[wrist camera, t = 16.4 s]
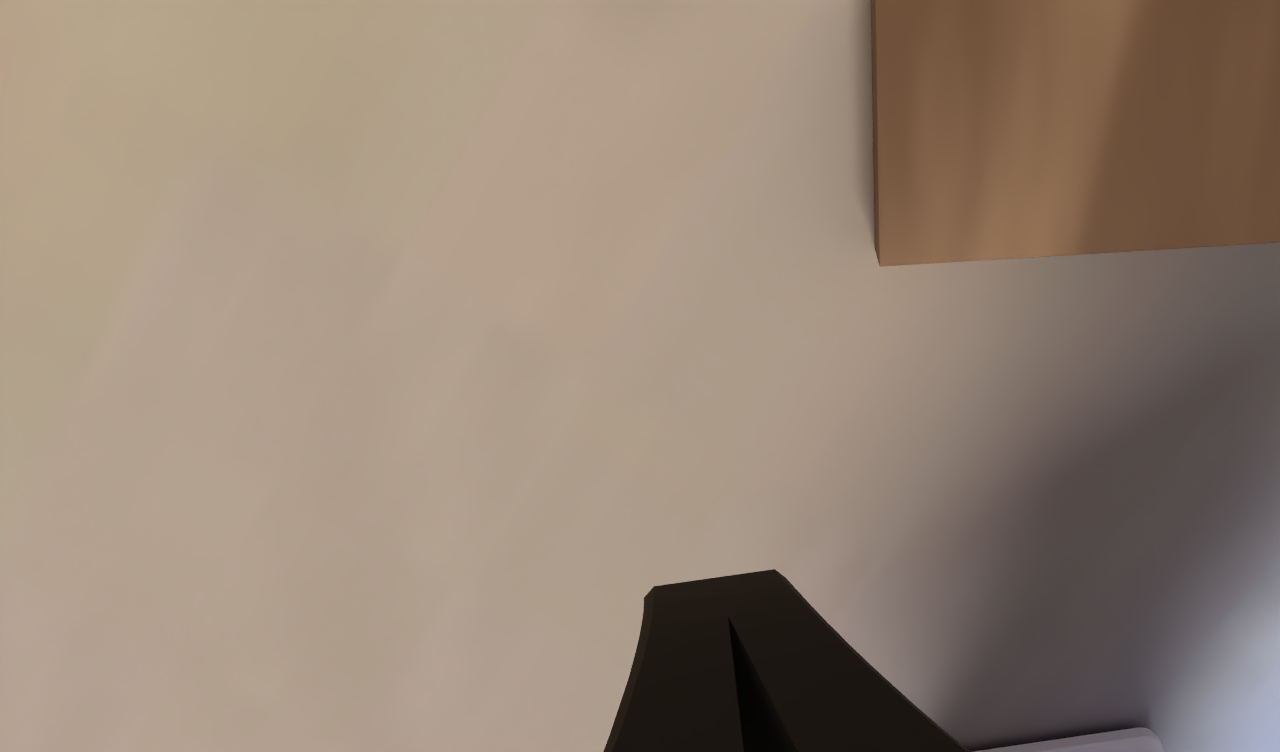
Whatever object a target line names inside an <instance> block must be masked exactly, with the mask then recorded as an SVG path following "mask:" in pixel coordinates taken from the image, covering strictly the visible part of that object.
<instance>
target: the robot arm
mask: <svg viewBox="0 0 1280 752" xmlns="http://www.w3.org/2000/svg"><path fill="white" fill-rule="evenodd" d="M1162 749H1163V748H1162V742H1161V741H1160V740H1159V739H1158V738H1157V736H1156V735H1155V734H1154V733H1153V732H1152V731H1151V730H1150V729H1147V728H1140V727H1138V728H1131V729H1124V730H1117V731H1110V732H1104V733H1097V734H1090V735H1083V736H1076V737H1069V738H1063V739H1056V740H1049V741H1042V742H1035V743H1028V744H1022V745H1015V746H1008V747H1001V748H994V749H987V750H981V751H974V752H1162ZM604 752H970V751H969V750H967V749H966V748H965V747H964V746H962V745H961V744H960V743H959V742H957V741H956V740H955V739H954V738H952V737H951V736H950V735H949V734H948V733H946V732H945V731H944V730H943V729H942V728H941V727H939V726H938V725H937V724H936V723H935V722H934V721H932V720H931V719H930V718H929V717H928V716H927V715H925V714H924V713H923V712H922V711H921V710H920V709H918V708H917V707H916V706H915V705H914V704H913V703H912V702H911V701H910V700H908V699H907V698H906V697H905V696H904V695H903V694H902V693H901V692H900V691H899V690H897V689H896V688H895V687H894V686H893V685H892V684H891V683H890V682H889V681H888V680H886V679H885V678H884V677H883V676H882V675H881V674H880V673H879V672H878V671H877V670H875V669H874V668H873V667H872V666H871V665H870V664H869V663H868V662H867V661H866V660H865V659H864V658H863V657H862V656H861V655H860V654H858V653H857V652H856V651H855V650H854V649H853V648H852V647H851V646H850V645H849V644H848V643H847V642H846V641H845V640H844V639H843V638H842V637H841V636H840V635H839V634H838V633H837V632H836V631H835V630H834V629H833V628H832V627H831V626H830V625H829V624H828V623H827V622H826V621H825V620H824V619H823V618H822V617H821V616H820V615H819V613H818V612H817V611H816V610H815V609H814V608H813V607H812V606H811V605H810V604H809V603H808V602H807V601H806V600H805V599H804V598H803V596H802V595H801V594H800V593H799V592H798V591H797V590H796V589H795V588H794V587H793V585H792V584H791V583H790V582H789V581H788V580H787V579H786V578H785V577H784V576H783V575H781V574H780V573H779V572H777V571H776V570H775V569H774V570H767V571H760V572H753V573H746V574H739V575H732V576H725V577H717V578H710V579H703V580H696V581H689V582H682V583H675V584H668V585H661V586H654V587H653V588H652V589H651V591H650V592H649V593H648V594H647V595H646V596H645V598H644V613H643V620H642V626H641V632H640V637H639V641H638V645H637V650H636V653H635V657H634V661H633V665H632V668H631V672H630V676H629V679H628V682H627V685H626V688H625V691H624V694H623V697H622V700H621V703H620V706H619V709H618V712H617V715H616V718H615V721H614V724H613V727H612V730H611V733H610V736H609V739H608V741H607V744H606V747H605V749H604Z"/></svg>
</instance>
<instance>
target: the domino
mask: <svg viewBox="0 0 1280 752" xmlns="http://www.w3.org/2000/svg"><path fill="white" fill-rule="evenodd" d="M871 35H872V94H873V154H874V213H875V251H876V254H877V258H878V262H879V265H880V266H896V265H912V264H929V263H945V262H962V261H978V260H995V259H1011V258H1028V257H1044V256H1061V255H1077V254H1094V253H1110V252H1127V251H1143V250H1159V249H1176V248H1192V247H1209V246H1225V245H1242V244H1258V243H1275V242H1280V0H871Z"/></svg>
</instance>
